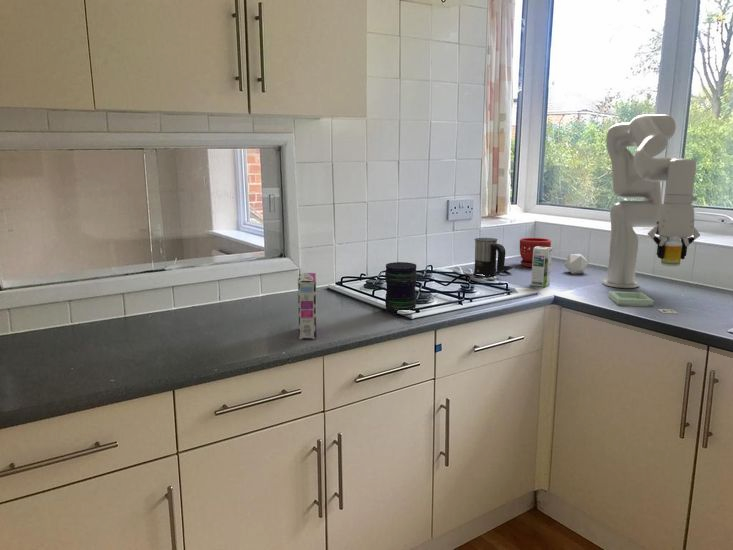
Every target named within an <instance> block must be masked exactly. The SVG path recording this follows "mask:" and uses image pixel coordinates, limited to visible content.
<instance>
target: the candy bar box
mask: <svg viewBox="0 0 733 550" xmlns="http://www.w3.org/2000/svg"><path fill="white" fill-rule="evenodd" d="M316 275H317V274H316V272H302V273H301V272H300V273H298V280H297V286H298V287H297V289H298V290H297V291H298V292H297V293H298V295H297V296H298V297H297V298H298V340H301V341H302V340H307V341H308V340H309V341H310V340H317V330H318V329H317V328H318V327H317V326H318V323H317V322H318V319H317V317H318V316H317V315H318V310H317V309H318V308H317V307H318V305H317V303H318V300H317V276H316Z"/></svg>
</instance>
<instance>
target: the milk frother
mask: <svg viewBox="0 0 733 550" xmlns="http://www.w3.org/2000/svg"><path fill="white" fill-rule="evenodd" d="M474 241H475V243H474V244H475V245H474V272H473V274H474V273H475V274H483V275H485V276H484V277H490V276H489V275H494V276H493V277H495V276H497V273H502V272H503V273H506V272H508V271H509V270H512V269H514V268H515V265H510V266H509V265H505V261H506V248H505V247H504V245H502V244H500V243H497V242H498V238H494V237H476V238H474Z"/></svg>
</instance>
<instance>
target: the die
mask: <svg viewBox="0 0 733 550" xmlns="http://www.w3.org/2000/svg"><path fill="white" fill-rule="evenodd" d="M588 265H589V261H588V260H587V259H586V258H585V257H584V256H583V255H582V254H581V253H575V254H573V253H572V254H569V255H568V256H567V258H566V261H565V263H564V267H565V268H566V269H567V270H568V271H569V272H570V273H571V274H572V275H576V274H577V275H578V274H584V273H585V271H586V269H587V266H588Z"/></svg>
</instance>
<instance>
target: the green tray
mask: <svg viewBox="0 0 733 550" xmlns="http://www.w3.org/2000/svg"><path fill="white" fill-rule="evenodd" d="M607 296H608V298H609V299H610V300H611V301H612V302H613V303H614V304H615V305H616V306H632V307H653V306H654V299H652V298H650V297H649V296H648V295H646V293H644V292H642V291H608V295H607Z"/></svg>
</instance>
